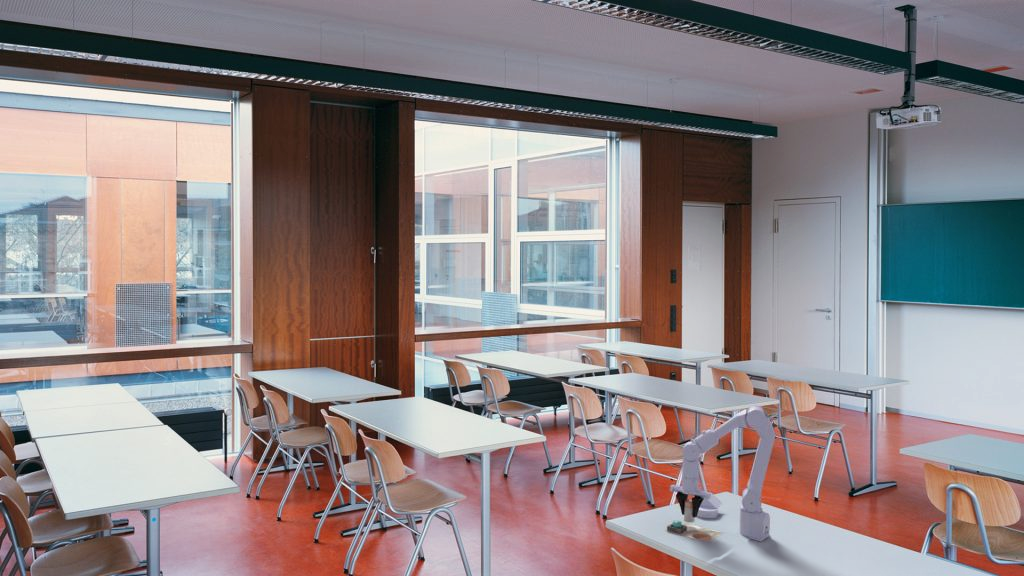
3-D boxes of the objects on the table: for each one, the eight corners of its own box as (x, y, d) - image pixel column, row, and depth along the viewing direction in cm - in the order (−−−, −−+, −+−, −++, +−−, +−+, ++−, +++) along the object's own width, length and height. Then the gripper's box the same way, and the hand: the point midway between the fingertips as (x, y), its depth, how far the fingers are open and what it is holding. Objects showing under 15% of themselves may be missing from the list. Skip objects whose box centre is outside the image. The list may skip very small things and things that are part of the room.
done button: (683, 527, 274) (683, 521, 274) (678, 529, 271) (679, 524, 271) (675, 525, 276) (675, 519, 276) (671, 527, 273) (671, 522, 273)
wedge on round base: (697, 507, 301) (689, 517, 290) (698, 490, 301) (690, 499, 289) (721, 511, 298) (714, 521, 286) (722, 493, 297) (715, 503, 286)
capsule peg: (696, 520, 279) (696, 500, 278) (691, 523, 276) (692, 503, 275) (686, 518, 281) (687, 498, 280) (682, 520, 278) (682, 501, 278)
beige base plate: (727, 534, 273) (727, 528, 272) (709, 546, 262) (710, 539, 262) (679, 522, 284) (679, 516, 284) (660, 532, 273) (661, 526, 273)
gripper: (666, 475, 279) (665, 513, 280) (704, 483, 270) (703, 522, 270) (675, 471, 284) (674, 508, 285) (713, 479, 275) (712, 517, 276)
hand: (689, 515), depth 278 cm, fingers closed on capsule peg, 4 cm apart
